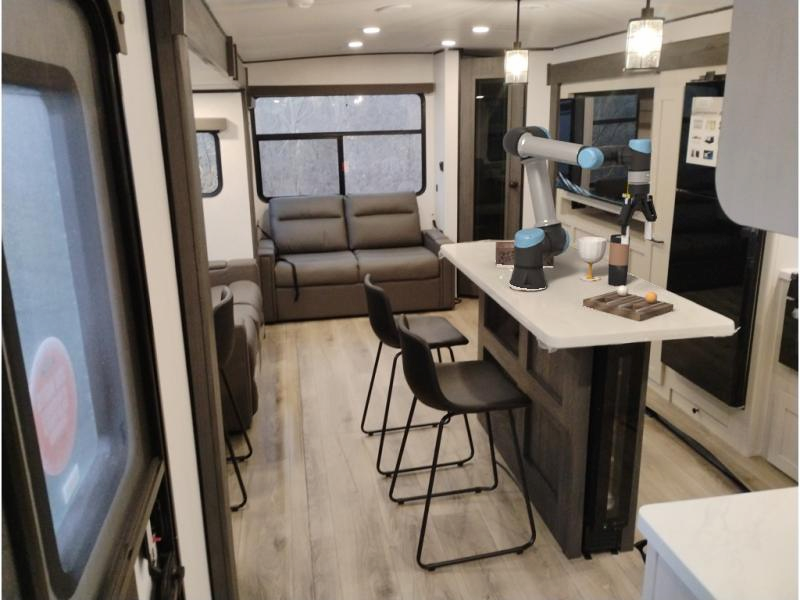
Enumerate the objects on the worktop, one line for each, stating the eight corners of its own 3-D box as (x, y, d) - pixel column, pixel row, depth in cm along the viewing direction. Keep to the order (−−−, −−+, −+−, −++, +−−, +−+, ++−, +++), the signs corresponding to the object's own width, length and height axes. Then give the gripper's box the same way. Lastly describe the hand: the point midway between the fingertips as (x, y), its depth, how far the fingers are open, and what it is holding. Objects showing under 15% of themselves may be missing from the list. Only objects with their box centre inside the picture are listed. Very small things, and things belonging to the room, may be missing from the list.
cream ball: (614, 295, 240) (614, 285, 239) (621, 294, 243) (621, 283, 242) (623, 298, 237) (624, 287, 236) (630, 296, 240) (631, 285, 238)
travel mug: (628, 282, 268) (632, 235, 262) (624, 287, 261) (628, 238, 256) (609, 281, 271) (612, 233, 266) (605, 285, 265) (608, 236, 260)
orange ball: (642, 302, 231) (643, 291, 230) (649, 300, 233) (650, 290, 232) (652, 305, 228) (653, 294, 227) (659, 303, 230) (660, 292, 229)
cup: (574, 281, 273) (576, 241, 268) (576, 274, 283) (578, 236, 279) (603, 282, 269) (606, 242, 264) (604, 276, 280) (607, 237, 275)
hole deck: (582, 306, 238) (583, 298, 237) (615, 297, 248) (616, 289, 247) (639, 321, 219) (640, 312, 218) (672, 311, 229) (673, 302, 228)
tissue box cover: (496, 268, 299) (496, 247, 296) (495, 262, 313) (495, 241, 310) (553, 268, 296) (554, 247, 293) (549, 262, 310) (550, 241, 307)
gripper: (625, 186, 224) (623, 247, 229) (668, 180, 238) (666, 238, 243) (607, 185, 230) (606, 245, 235) (650, 180, 244) (648, 236, 249)
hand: (636, 241), depth 239 cm, fingers open, 13 cm apart
